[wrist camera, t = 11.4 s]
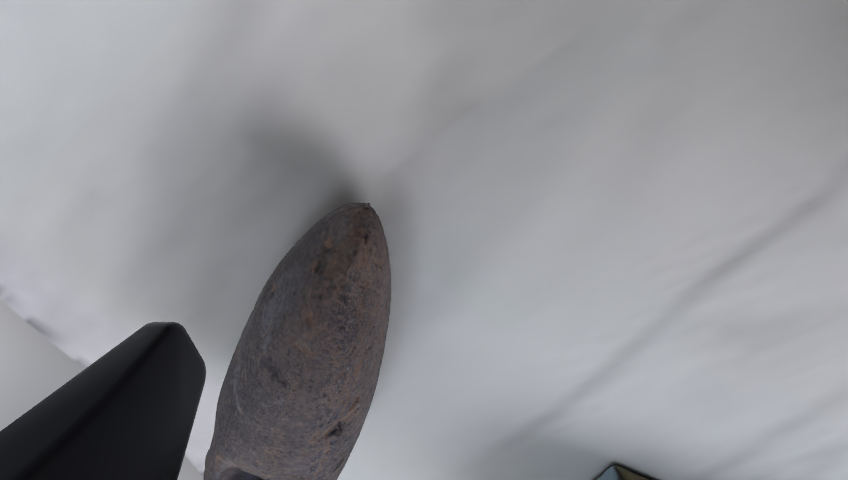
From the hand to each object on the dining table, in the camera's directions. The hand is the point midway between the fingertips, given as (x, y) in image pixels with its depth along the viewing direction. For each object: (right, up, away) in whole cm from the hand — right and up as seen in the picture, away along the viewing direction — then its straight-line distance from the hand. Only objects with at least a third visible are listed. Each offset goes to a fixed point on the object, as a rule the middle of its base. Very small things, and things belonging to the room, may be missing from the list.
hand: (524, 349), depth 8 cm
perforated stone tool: (-5, -1, +20) cm, 20 cm away
